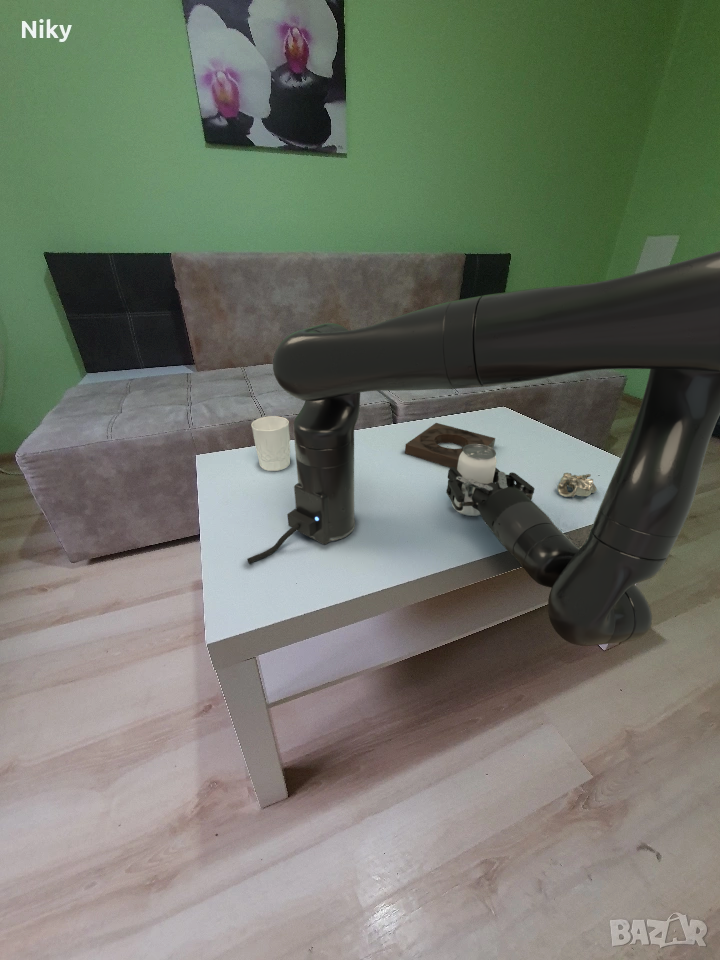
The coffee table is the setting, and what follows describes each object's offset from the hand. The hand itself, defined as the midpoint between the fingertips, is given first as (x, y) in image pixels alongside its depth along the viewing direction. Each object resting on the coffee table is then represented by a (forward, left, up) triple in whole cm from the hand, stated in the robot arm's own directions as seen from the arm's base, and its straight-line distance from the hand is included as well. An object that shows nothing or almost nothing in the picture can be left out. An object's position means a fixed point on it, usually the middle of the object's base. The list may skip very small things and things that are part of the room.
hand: (468, 469), depth 72 cm
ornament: (+16, -17, -7) cm, 25 cm away
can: (-2, -2, -7) cm, 8 cm away
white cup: (-12, +40, -7) cm, 43 cm away
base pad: (+18, +11, -7) cm, 23 cm away
